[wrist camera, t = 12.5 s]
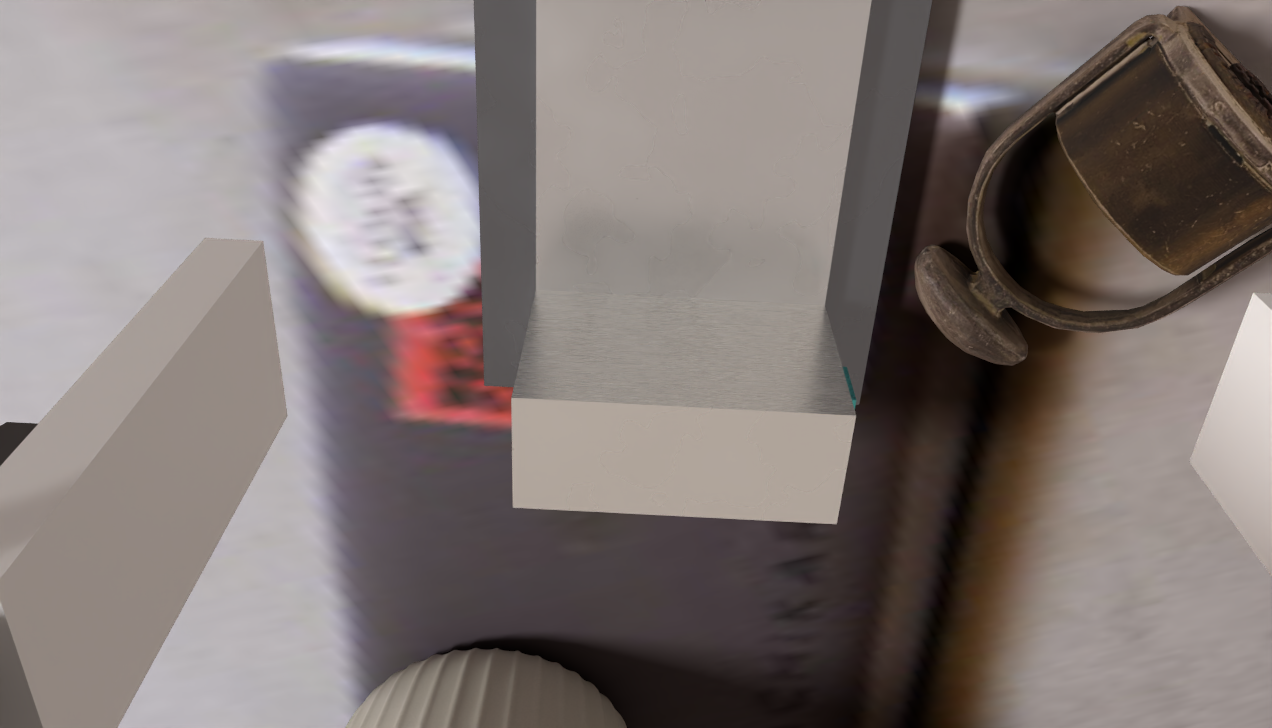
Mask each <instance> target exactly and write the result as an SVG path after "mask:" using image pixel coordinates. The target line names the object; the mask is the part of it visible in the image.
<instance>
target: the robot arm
mask: <svg viewBox="0 0 1272 728" xmlns="http://www.w3.org/2000/svg"><path fill="white" fill-rule="evenodd" d="M286 417H287V409H286V402H285V395H284V387H283V380H282V373H281V366H280V359H279V352H278V344H277V337H276V330H275V323H274V316H273V309H272V302H271V294H270V287H269V280H268V273H267V266H266V259H265V252H264V244H263V241H253V240H234V239H214V238H204V240H203V241H202V242H201V243H200V244H199V245H198V246H197V247H196V249H195V250H194V251H193V252H192V253H191V254H190V255H189V256H188V257H187V259H186V260H185V261H184V262H183V263H182V264H181V265H180V266H179V267H178V269H177V270H176V271H175V272H174V273H173V274H172V275H171V276H170V278H169V279H168V280H167V281H166V282H165V283H164V284H163V285H162V286H161V288H160V289H159V290H158V291H157V292H156V293H155V294H154V295H153V296H152V298H151V299H150V300H149V301H148V302H147V303H146V304H145V305H144V307H143V308H142V309H141V310H140V311H139V312H138V313H137V314H136V315H135V317H134V318H133V319H132V320H131V321H130V322H129V323H128V324H127V325H126V327H125V328H124V329H123V330H122V331H121V332H120V333H119V334H118V335H117V337H116V338H115V339H114V340H113V341H112V342H111V343H110V344H109V346H108V347H107V348H106V349H105V350H104V351H103V352H102V353H101V354H100V356H99V357H98V358H97V359H96V360H95V361H94V362H93V363H92V364H91V366H90V367H89V368H88V369H87V370H86V371H85V372H84V373H83V375H82V376H81V377H80V378H79V379H78V380H77V381H76V382H75V383H74V385H73V386H72V387H71V388H70V389H69V390H68V391H67V392H66V393H65V395H64V396H63V397H62V398H61V399H60V400H59V401H58V402H57V404H56V405H55V406H54V407H53V408H52V409H51V410H50V411H49V412H48V414H47V415H46V416H45V417H44V418H43V419H42V420H41V421H40V422H39V424H33V423H14V422H6V423H5V424H3V425H1V426H0V728H117V727H118V725H119V724H120V722H121V720H122V718H123V716H124V714H125V713H126V711H127V709H128V707H129V705H130V703H131V702H132V700H133V698H134V696H135V694H136V692H137V691H138V689H139V687H140V685H141V683H142V681H143V680H144V678H145V676H146V674H147V672H148V670H149V669H150V667H151V665H152V663H153V661H154V659H155V658H156V656H157V654H158V652H159V650H160V648H161V647H162V645H163V643H164V641H165V639H166V637H167V636H168V634H169V632H170V630H171V628H172V626H173V625H174V623H175V621H176V619H177V617H178V615H179V614H180V612H181V610H182V608H183V606H184V604H185V603H186V601H187V599H188V597H189V595H190V593H191V592H192V590H193V588H194V586H195V584H196V582H197V581H198V579H199V577H200V575H201V573H202V571H203V570H204V568H205V566H206V564H207V562H208V560H209V559H210V557H211V555H212V553H213V551H214V549H215V548H216V546H217V544H218V542H219V540H220V538H221V537H222V535H223V533H224V531H225V529H226V527H227V526H228V524H229V522H230V520H231V518H232V516H233V515H234V513H235V511H236V509H237V507H238V505H239V504H240V502H241V500H242V498H243V496H244V494H245V493H246V491H247V489H248V487H249V485H250V483H251V482H252V480H253V478H254V476H255V474H256V472H257V471H258V469H259V467H260V465H261V463H262V461H263V460H264V458H265V456H266V454H267V452H268V450H269V449H270V447H271V445H272V443H273V441H274V439H275V438H276V436H277V434H278V432H279V430H280V428H281V427H282V425H283V423H284V421H285V419H286ZM1189 462H1190V463H1191V465H1192V466H1193V468H1194V469H1195V470H1196V472H1197V473H1198V475H1199V476H1200V477H1201V479H1202V480H1203V482H1204V483H1205V484H1206V486H1207V487H1208V489H1209V490H1210V491H1211V493H1212V494H1213V496H1214V497H1215V498H1216V500H1217V501H1218V502H1219V504H1220V505H1221V507H1222V508H1223V509H1224V511H1225V512H1226V514H1227V515H1228V516H1229V518H1230V519H1231V521H1232V522H1233V523H1234V525H1235V526H1236V528H1237V529H1238V530H1239V532H1240V533H1241V535H1242V536H1243V537H1244V539H1245V540H1246V542H1247V543H1248V544H1249V546H1250V547H1251V549H1252V550H1253V551H1254V553H1255V554H1256V555H1257V557H1258V558H1259V560H1260V561H1261V562H1262V564H1263V565H1264V567H1265V568H1266V569H1267V571H1268V572H1269V574H1270V575H1271V576H1272V294H1270V293H1253V295H1252V297H1251V300H1250V303H1249V305H1248V308H1247V311H1246V313H1245V316H1244V319H1243V321H1242V324H1241V327H1240V329H1239V332H1238V334H1237V337H1236V340H1235V342H1234V345H1233V348H1232V350H1231V353H1230V356H1229V358H1228V361H1227V364H1226V366H1225V369H1224V371H1223V374H1222V377H1221V379H1220V382H1219V385H1218V387H1217V390H1216V393H1215V395H1214V398H1213V401H1212V403H1211V406H1210V409H1209V411H1208V414H1207V416H1206V419H1205V422H1204V424H1203V427H1202V430H1201V432H1200V435H1199V438H1198V440H1197V443H1196V446H1195V448H1194V451H1193V453H1192V456H1191V459H1190V461H1189Z"/></svg>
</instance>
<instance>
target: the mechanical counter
mask: <svg viewBox="0 0 1272 728" xmlns="http://www.w3.org/2000/svg"><path fill="white" fill-rule="evenodd" d="M1151 36H1153V37H1152V38H1151V39H1150V38H1149V37H1151ZM1052 112H1054V113H1055V114H1056V121H1055V125H1056V128H1057V135H1058V139H1059V141H1060V144H1061V147H1062V149H1063V151H1064V153H1065V155H1066V157H1067V159H1068V160H1069V162H1070V164H1071V165H1072V167H1073V169H1074V171H1075V172H1076V174H1077V176H1078V177H1079V179H1080V181H1081V182H1082V184H1083V185H1084V187H1085V189H1086V190H1087V192H1088V193H1089V195H1090V196H1091V198H1092V200H1093V201H1094V202H1095V204H1096V205H1097V206H1098V208H1099V209H1100V210H1101V211H1102V213H1103V214H1104V215H1105V217H1106V218H1107V219H1108V220H1109V221H1110V222H1111V223H1112V224H1113V225H1114V226H1115V227H1116V228H1117V229H1118V230H1119V231H1120V232H1121V233H1122V234H1123V235H1124V236H1125V237H1126V238H1127V240H1128V241H1129V242H1130V243H1131V244H1132V245H1133V246H1134V247H1135V248H1136V249H1137V250H1138V251H1139V252H1140V253H1141V254H1142V255H1143V256H1144V257H1146V258H1147V259H1148V260H1150V261H1151V262H1152V263H1154V264H1155V265H1157V266H1158V267H1159V268H1161V269H1162V270H1164V271H1166V272H1169V273H1171V274H1173V275H1189V274H1191V273H1192V272H1194V271H1196V270H1197V269H1199V268H1200V267H1202V266H1204V265H1205V264H1207V263H1208V262H1210V261H1212V260H1213V259H1215V258H1216V257H1218V256H1219V255H1221V254H1223V253H1224V252H1226V251H1227V250H1229V249H1231V248H1232V247H1234V246H1235V245H1237V244H1239V243H1240V242H1242V241H1244V240H1245V239H1247V238H1248V237H1250V236H1252V235H1253V234H1255V233H1257V232H1258V231H1260V230H1261V229H1263V228H1265V227H1266V226H1268V225H1270V224H1271V223H1272V95H1271V94H1270V93H1269V91H1268V90H1267V89H1266V87H1265V86H1264V85H1263V83H1262V82H1260V81H1259V80H1258V79H1257V78H1256V77H1255V76H1254V75H1253V74H1252V73H1251V72H1250V71H1247V70H1246V69H1245V68H1244V66H1243V65H1242V64H1241V63H1240V62H1239V61H1238V60H1237V59H1236V58H1235V57H1234V56H1233V55H1232V54H1231V53H1230V52H1229V51H1228V50H1227V49H1226V48H1225V47H1224V45H1223V44H1222V43H1221V42H1220V41H1219V40H1218V39H1217V38H1216V37H1215V36H1214V35H1213V34H1212V33H1211V32H1210V31H1209V29H1208V28H1207V27H1206V26H1205V25H1204V24H1203V23H1202V22H1201V21H1200V20H1199V19H1198V18H1197V17H1196V15H1195V14H1194V13H1193V12H1192V11H1191V10H1190V9H1189V8H1188V7H1183V6H1177V7H1175V8H1174V9H1173V10H1172V11H1171V12H1170V13H1169V14H1168V15H1167V17H1166V16H1165V15H1161V14H1157V15H1147V16H1145V17H1143V18H1141V19H1139V20H1137V21H1136V22H1134V23H1133V24H1132V25H1131V26H1129V27H1128V28H1127V29H1126V30H1124V31H1123V32H1122V33H1121V34H1120V35H1118V36H1117V37H1116V38H1115V39H1114V40H1112V41H1111V42H1110V43H1109V44H1107V45H1106V46H1105V47H1104V48H1103V49H1101V50H1100V51H1099V52H1098V53H1096V54H1095V55H1094V56H1093V57H1092V58H1090V59H1089V60H1088V61H1087V62H1086V63H1084V64H1083V65H1082V66H1081V67H1080V68H1078V69H1077V70H1076V71H1075V72H1073V73H1072V74H1071V75H1070V76H1069V77H1067V78H1066V79H1065V80H1064V81H1063V82H1061V83H1060V84H1059V85H1058V86H1056V87H1055V88H1054V89H1053V90H1052V91H1050V92H1049V93H1048V94H1047V95H1046V96H1044V97H1043V98H1042V99H1041V100H1040V101H1038V102H1037V103H1036V104H1035V105H1034V106H1032V107H1031V108H1030V109H1029V110H1028V111H1026V112H1025V113H1024V114H1023V115H1022V116H1020V117H1019V118H1018V119H1017V120H1016V121H1014V122H1013V123H1012V124H1011V125H1010V126H1009V127H1007V129H1006V130H1005V131H1004V132H1003V133H1002V134H1001V135H1000V136H999V137H998V139H997V140H996V141H995V142H994V143H993V144H992V145H991V146H990V147H989V149H988V150H987V152H986V154H985V156H984V158H983V160H982V162H981V164H980V166H979V169H978V172H977V175H976V177H975V180H974V183H973V186H972V189H971V192H970V195H969V198H968V211H967V228H966V229H967V235H968V241H969V247H970V250H971V252H972V255H973V257H974V259H975V262H976V264H977V266H978V269H979V271H977V272H972V271H971V270H970V269H969V268H968V267H967V266H965V265H964V264H963V263H962V262H961V261H960V260H959V259H957V258H956V257H955V256H953V255H952V254H951V253H949V252H948V251H946V250H945V249H943V248H941V247H939V246H937V245H934V244H933V245H930V246H927V247H925V248H924V249H923V250H922V251H921V253H920V254H919V255H918V256H917V257H916V260H915V286H916V290H917V293H918V296H919V299H920V301H921V303H922V305H923V307H924V309H925V311H926V312H927V314H928V315H929V316H930V318H931V319H932V320H933V322H934V323H935V324H936V326H937V327H938V328H939V330H940V331H941V332H942V333H943V334H944V335H945V337H946V338H947V339H949V340H950V341H951V342H952V343H954V344H955V345H956V346H957V347H959V348H960V349H961V350H963V351H964V352H966V353H968V354H971V355H973V356H976V357H979V358H981V359H984V360H986V361H989V362H992V363H995V364H1001V365H1011V366H1012V365H1015V364H1017V363H1020V362H1021V361H1023V360H1024V359H1026V357H1027V353H1028V345H1027V343H1026V341H1025V339H1024V337H1023V335H1022V333H1021V331H1020V329H1019V327H1018V326H1017V325H1016V323H1015V322H1014V320H1013V319H1012V317H1011V316H1010V315H1009V313H1008V312H1007V310H1006V309H1005V308H1008V307H1011V308H1013V309H1014V310H1016V311H1018V312H1019V313H1021V314H1023V315H1025V316H1026V317H1029V318H1031V319H1034V320H1036V321H1038V322H1041V323H1043V324H1046V325H1048V326H1051V327H1053V328H1057V329H1064V330H1071V331H1078V332H1086V333H1101V332H1109V331H1117V330H1125V329H1133V328H1139V327H1141V326H1144V325H1146V324H1149V323H1152V322H1154V321H1157V320H1159V319H1162V318H1164V317H1166V316H1168V315H1170V314H1172V313H1174V312H1175V311H1177V310H1179V309H1181V308H1183V307H1185V306H1186V305H1188V304H1190V303H1191V302H1193V301H1194V300H1196V299H1198V298H1199V297H1201V296H1202V295H1204V294H1206V293H1207V292H1209V291H1211V290H1212V289H1214V288H1215V287H1217V286H1219V285H1220V284H1222V283H1223V282H1225V281H1227V280H1228V279H1230V278H1231V277H1233V276H1235V275H1236V274H1238V273H1239V272H1241V271H1243V270H1244V269H1246V268H1247V267H1249V266H1251V265H1252V264H1254V263H1255V262H1257V261H1259V260H1260V259H1262V258H1263V257H1265V256H1266V255H1268V254H1270V253H1271V252H1272V228H1270V229H1268V230H1267V231H1265V232H1263V233H1262V234H1260V235H1258V236H1256V237H1255V238H1253V239H1251V240H1249V241H1248V242H1246V243H1245V244H1243V245H1242V246H1240V247H1239V248H1237V249H1235V250H1234V251H1232V252H1231V253H1229V254H1228V255H1226V256H1224V257H1223V258H1221V259H1220V260H1218V261H1217V262H1215V263H1214V264H1212V265H1211V266H1209V267H1208V268H1206V269H1205V270H1203V271H1202V272H1200V273H1199V274H1197V275H1196V276H1194V277H1193V278H1191V279H1190V280H1188V281H1187V282H1185V283H1184V284H1182V285H1181V286H1179V287H1178V288H1176V289H1175V290H1173V291H1172V292H1170V293H1169V294H1167V295H1165V296H1163V297H1161V298H1159V299H1157V300H1155V301H1153V302H1151V303H1149V304H1147V305H1145V306H1142V307H1138V308H1134V309H1130V310H1109V311H1085V312H1083V311H1078V310H1073V309H1068V308H1064V307H1061V306H1057V305H1054V304H1051V303H1048V302H1045V301H1042V300H1041V299H1039V298H1038V297H1036V296H1034V295H1033V294H1031V293H1030V292H1028V291H1027V290H1025V289H1023V288H1022V287H1020V286H1019V285H1018V284H1017V282H1016V281H1015V280H1014V279H1013V278H1012V277H1011V276H1010V275H1009V274H1008V273H1007V272H1006V270H1005V269H1004V268H1003V266H1002V265H1001V264H1000V262H999V261H998V259H997V258H996V257H995V255H994V254H993V251H992V249H991V247H990V245H989V242H988V240H987V238H986V233H985V227H984V222H983V207H984V202H985V197H986V191H987V187H988V184H989V182H990V179H991V176H992V174H993V171H994V169H995V168H996V167H997V165H998V164H999V162H1000V161H1001V160H1002V158H1003V157H1004V155H1005V154H1006V153H1007V151H1008V150H1009V149H1010V148H1011V147H1012V146H1013V145H1015V144H1016V143H1017V142H1018V141H1019V140H1020V139H1021V138H1022V137H1023V136H1024V135H1025V134H1027V133H1028V132H1029V131H1030V130H1032V129H1033V128H1034V127H1035V126H1037V125H1038V124H1039V123H1040V122H1041V121H1042V120H1044V119H1045V118H1046V117H1047V116H1048V115H1050V114H1051V113H1052Z"/></svg>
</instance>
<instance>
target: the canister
mask: <svg viewBox="0 0 1272 728" xmlns="http://www.w3.org/2000/svg"><path fill="white" fill-rule="evenodd" d="M346 728H627V726H626V724H625V722H624V720H623V718H622V716H621V715H620V714H619V713H618V712H617V711H616V710H615V709H614V707H613V705H612V703H611V702H610V700H609V699H608V698H607V697H606V696H604V695H603V694H601V693H599V691H598V689H597V688H596V687H595V686H594V685H593V684H592V683H590V682H588V681H585V680H583V679H582V678H581V677H580V676H579V674H578V673H576V672H575V671H569V670H567V669H565V668H563V667H562V666H561V665H560V664H559V663H557V662H550V661H547V660H545V659H542V658H541V657H540V656H538V655H536V656H532V655H527V654H523V653H521V652H520V651H505V650H500V649H499V648H494V649H490V650H483V649H479V648H473V649H471V650H466V651H459V650H453V651H451V652H449V653H447V654H444V655H439V654H435V655H432V656H431V657H429V658H428V659H426V660H424V661H417V662H414V663H412V664H410V665H409V666H408V667H407V668H406V669H404V670H401V671H398V672H396V673H394V674H393V675H392V676H390V677H389V678H388V679H387V680H386V681H385V682H384V683H382V684H381V685H379V686H378V687H377V688H376V689H375V690H373V691H372V692H371V694H370V695H369V696H368V697H367V698H366V700H365V702H364V703H362V704H361V706H360V707H359V708H358V709H357V710H356V711H355V713H354V714H353V716H352V717H351V719H350V720H349V722H348V724H347V726H346Z"/></svg>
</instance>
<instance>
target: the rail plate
mask: <svg viewBox="0 0 1272 728" xmlns="http://www.w3.org/2000/svg"><path fill="white" fill-rule="evenodd" d="M931 5H932V0H474V23H475V60H476V96H477V133H478V169H479V206H480V242H481V279H482V315H483V352H484V386H502V387H514V389H513V393H512V478H513V508H532V509H551V510H571V511H590V512H610V513H629V514H649V515H668V516H688V517H707V518H727V519H746V520H766V521H785V522H805V523H824V524H837V519H838V514H839V508H840V503H841V497H842V492H843V486H844V480H845V475H846V469H847V464H848V458H849V453H850V447H851V442H852V436H853V431H854V425H855V420H856V413H855V405H859V403H860V397H861V392H862V386H863V381H864V375H865V370H866V364H867V359H868V353H869V348H870V342H871V337H872V331H873V326H874V320H875V315H876V309H877V303H878V298H879V292H880V287H881V281H882V276H883V270H884V265H885V259H886V254H887V248H888V243H889V237H890V232H891V226H892V221H893V215H894V210H895V204H896V199H897V193H898V187H899V182H900V176H901V171H902V165H903V160H904V154H905V149H906V143H907V138H908V132H909V127H910V121H911V116H912V110H913V105H914V99H915V94H916V88H917V83H918V77H919V72H920V66H921V60H922V55H923V49H924V44H925V38H926V33H927V27H928V22H929V16H930V11H931Z"/></svg>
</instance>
